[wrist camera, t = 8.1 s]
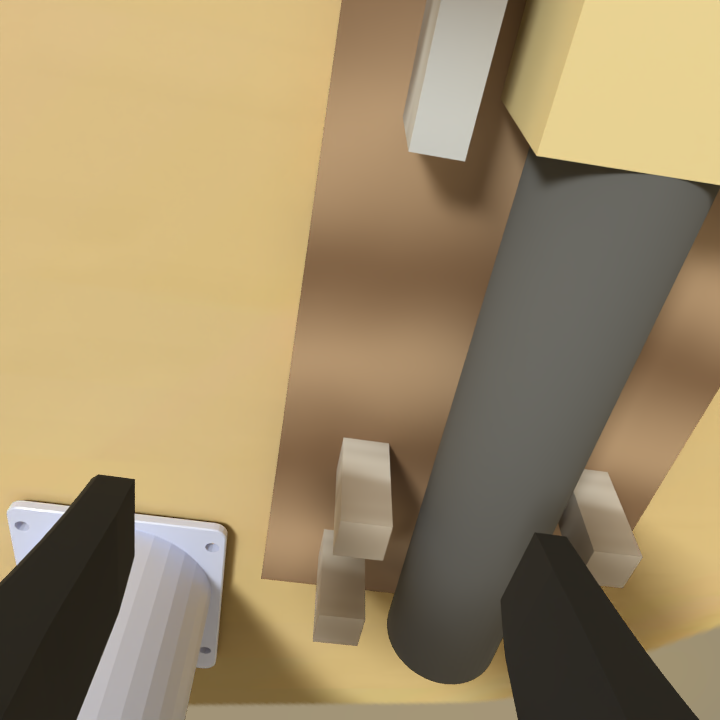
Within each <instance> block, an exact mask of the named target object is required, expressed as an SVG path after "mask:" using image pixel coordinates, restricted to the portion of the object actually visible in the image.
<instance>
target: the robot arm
mask: <svg viewBox="0 0 720 720" xmlns="http://www.w3.org/2000/svg"><path fill="white" fill-rule="evenodd" d="M7 518H8V524H9V529H10V534H11V539H12V545H13V550H14V555H15V560H16V565H17V566H16V567H15V568H14V569H13V570H12V571H11V572H10V573H9V574H8V575H7V576H6V577H5V578H4V579H3V580H2V581H1V582H0V720H185V717H186V712H187V707H188V703H189V698H190V693H191V689H192V684H193V679H194V674H195V670H196V668H210V667H212V666H214V665H215V663H216V658H217V648H218V636H219V625H220V614H221V602H222V591H223V580H224V568H225V557H226V546H227V534H228V533H227V529H226V528H225V527H224V526H222V525H220V524H217V523H211V522H203V521H194V520H186V519H177V518H169V517H160V516H152V515H143V514H135V479H129V478H121V477H114V476H106V475H97V476H95V477H93V478H92V479H91V480H90V482H89V483H88V484H87V485H86V487H85V488H84V489H83V491H82V492H81V493H80V494H79V496H78V497H77V498H76V499H75V501H74V502H73V503H72V504H71V505H70V506H66V505H57V504H49V503H40V502H32V501H15V502H13V503H12V504H11V505H10V507H9V509H8V510H7ZM212 543H214V544H212ZM500 601H501V615H502V629H503V639H504V650H505V658H506V663H507V668H508V673H509V678H510V683H511V688H512V693H513V698H514V702H515V707H516V712H517V717H518V720H699V719H698V718H697V716H696V715H695V714H694V713H693V712H692V710H691V709H690V708H689V707H688V705H687V704H686V703H685V702H684V700H683V699H682V698H681V697H680V696H679V694H678V693H677V692H676V690H675V689H674V688H673V686H672V685H671V684H670V683H669V681H668V680H667V679H666V678H665V676H664V675H663V674H662V673H661V671H660V670H659V669H658V667H657V666H656V665H655V663H654V662H653V661H652V659H651V658H650V657H649V655H648V654H647V653H646V651H645V650H644V648H643V647H642V646H641V644H640V643H639V641H638V640H637V639H636V637H635V636H634V635H633V633H632V632H631V630H630V629H629V628H628V626H627V625H626V623H625V622H624V621H623V619H622V618H621V616H620V615H619V613H618V612H617V610H616V609H615V608H614V606H613V605H612V603H611V602H610V600H609V599H608V597H607V596H606V594H605V593H604V591H603V590H602V588H601V587H600V586H599V584H598V583H597V581H596V580H595V578H594V577H593V575H592V574H591V572H590V571H589V569H588V568H587V566H586V565H585V563H584V562H583V560H582V559H581V557H580V556H579V554H578V553H577V551H576V550H575V548H574V547H573V545H572V544H571V543H570V541H569V540H568V538H567V537H566V536H559V535H551V534H544V533H536V532H535V533H534V535H533V537H532V539H531V541H530V543H529V545H528V546H527V548H526V550H525V552H524V554H523V556H522V558H521V560H520V562H519V564H518V566H517V568H516V570H515V572H514V574H513V576H512V578H511V580H510V582H509V584H508V586H507V588H506V590H505V592H504V594H503V596H502V598H501V600H500Z"/></svg>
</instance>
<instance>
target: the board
mask: <svg viewBox="0 0 720 720" xmlns="http://www.w3.org/2000/svg"><path fill="white" fill-rule="evenodd" d="M526 1H527V0H342V3H341V11H340V18H339V25H338V32H337V39H336V46H335V53H334V61H333V68H332V75H331V82H330V89H329V96H328V104H327V111H326V118H325V125H324V132H323V139H322V147H321V154H320V161H319V168H318V175H317V182H316V189H315V197H314V204H313V211H312V218H311V225H310V232H309V240H308V247H307V254H306V261H305V268H304V275H303V283H302V290H301V297H300V304H299V311H298V318H297V325H296V333H295V340H294V347H293V354H292V361H291V368H290V376H289V383H288V390H287V397H286V404H285V411H284V419H283V426H282V433H281V440H280V447H279V454H278V461H277V469H276V476H275V483H274V490H273V497H272V504H271V512H270V519H269V526H268V533H267V540H266V547H265V555H264V562H263V569H262V576H261V579H269V580H278V581H287V582H296V583H306V584H315V585H317V586H316V601H315V617H314V632H313V642H323V643H333V644H343V645H353V646H357V645H358V642H359V639H360V635H361V632H362V629H363V625H364V622H365V590H369V591H378V592H388V593H395V590H396V587H397V584H398V580H399V577H400V574H401V570H402V567H403V564H404V561H405V557H406V554H407V551H408V547H409V544H410V541H411V537H412V534H413V531H414V527H415V524H416V521H417V518H418V514H419V511H420V508H421V504H422V501H423V498H424V494H425V491H426V488H427V485H428V481H429V478H430V475H431V471H432V468H433V465H434V461H435V458H436V455H437V451H438V448H439V445H440V442H441V438H442V435H443V432H444V428H445V425H446V422H447V418H448V415H449V412H450V409H451V405H452V402H453V399H454V395H455V392H456V389H457V385H458V382H459V379H460V375H461V372H462V369H463V366H464V362H465V359H466V356H467V352H468V349H469V346H470V342H471V339H472V336H473V333H474V329H475V326H476V323H477V319H478V316H479V313H480V309H481V306H482V303H483V299H484V296H485V293H486V290H487V286H488V283H489V280H490V276H491V273H492V270H493V266H494V263H495V260H496V256H497V253H498V250H499V247H500V243H501V240H502V237H503V233H504V230H505V227H506V223H507V220H508V217H509V214H510V210H511V207H512V204H513V200H514V197H515V194H516V190H517V187H518V184H519V180H520V177H521V174H522V171H523V167H524V164H525V161H526V157H527V154H528V151H529V147H530V145H529V143H528V142H527V140H526V138H525V137H524V135H523V134H522V132H521V131H520V129H519V127H518V126H517V124H516V123H515V121H514V119H513V118H512V116H511V115H510V113H509V112H508V110H507V108H506V107H505V105H504V104H503V102H502V100H501V95H502V91H503V88H504V84H505V80H506V76H507V73H508V69H509V65H510V61H511V58H512V54H513V50H514V46H515V43H516V39H517V35H518V31H519V28H520V24H521V20H522V16H523V13H524V9H525V5H526ZM719 387H720V189H719V191H718V193H717V196H716V198H715V200H714V202H713V204H712V206H711V208H710V210H709V212H708V214H707V216H706V218H705V220H704V222H703V224H702V227H701V229H700V231H699V233H698V235H697V237H696V239H695V241H694V243H693V245H692V247H691V249H690V251H689V253H688V255H687V258H686V260H685V262H684V264H683V266H682V268H681V270H680V272H679V274H678V276H677V278H676V280H675V282H674V284H673V287H672V289H671V291H670V293H669V295H668V297H667V299H666V301H665V303H664V305H663V307H662V309H661V311H660V313H659V315H658V318H657V320H656V322H655V324H654V326H653V328H652V330H651V332H650V334H649V336H648V338H647V340H646V342H645V344H644V346H643V349H642V351H641V353H640V355H639V357H638V359H637V361H636V363H635V365H634V367H633V369H632V371H631V373H630V375H629V378H628V380H627V382H626V384H625V386H624V388H623V390H622V392H621V394H620V396H619V398H618V400H617V402H616V404H615V406H614V409H613V411H612V413H611V415H610V417H609V419H608V421H607V423H606V425H605V427H604V429H603V431H602V433H601V435H600V437H599V440H598V442H597V444H596V446H595V448H594V450H593V452H592V454H591V456H590V458H589V460H588V462H587V464H586V466H585V468H584V471H583V473H582V475H581V477H580V479H579V481H578V483H577V485H576V487H575V489H574V491H573V493H572V495H571V497H570V500H569V502H568V504H567V506H566V508H565V510H564V512H563V514H562V516H561V518H560V520H559V522H558V524H557V526H556V528H555V531H554V533H553V535H559V536H566V537H567V538H568V540H569V541H570V543H571V544H572V545H573V547H574V548H575V550H576V551H577V553H578V554H579V556H580V557H581V559H582V560H583V562H584V563H585V565H586V566H587V568H588V569H589V571H590V572H591V574H592V575H593V577H594V578H595V580H596V581H597V583H598V584H599V586H608V587H617V588H623V587H624V585H625V584H626V582H627V581H628V579H629V578H630V576H631V575H632V573H633V571H634V570H635V568H636V567H637V565H638V564H639V562H640V561H641V559H642V554H641V552H640V549H639V547H638V544H637V542H636V540H635V537H634V535H633V532H632V531H633V529H634V527H635V526H636V524H637V522H638V521H639V519H640V517H641V516H642V514H643V512H644V511H645V509H646V508H647V506H648V504H649V503H650V501H651V499H652V498H653V496H654V494H655V493H656V491H657V489H658V488H659V486H660V485H661V483H662V481H663V480H664V478H665V476H666V475H667V473H668V471H669V470H670V468H671V466H672V465H673V463H674V461H675V460H676V458H677V457H678V455H679V453H680V452H681V450H682V448H683V447H684V445H685V443H686V442H687V440H688V438H689V437H690V435H691V434H692V432H693V430H694V429H695V427H696V425H697V424H698V422H699V420H700V419H701V417H702V415H703V414H704V412H705V411H706V409H707V407H708V406H709V404H710V402H711V401H712V399H713V397H714V396H715V394H716V392H717V391H718V389H719Z"/></svg>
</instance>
